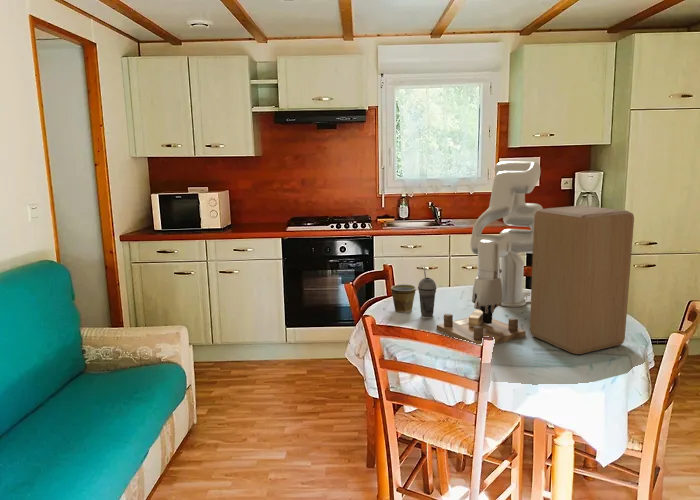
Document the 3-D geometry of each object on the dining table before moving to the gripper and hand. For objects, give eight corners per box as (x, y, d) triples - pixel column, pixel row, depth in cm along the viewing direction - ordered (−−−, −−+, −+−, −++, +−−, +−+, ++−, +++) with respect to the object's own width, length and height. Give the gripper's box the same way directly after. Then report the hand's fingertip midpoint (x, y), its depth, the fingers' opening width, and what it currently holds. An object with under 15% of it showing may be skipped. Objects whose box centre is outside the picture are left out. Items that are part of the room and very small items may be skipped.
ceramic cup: (420, 312, 220) (420, 288, 218) (399, 316, 216) (399, 292, 214) (403, 304, 232) (403, 281, 230) (383, 307, 227) (383, 284, 225)
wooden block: (576, 357, 171) (584, 216, 162) (526, 335, 191) (531, 208, 182) (627, 346, 180) (638, 210, 171) (574, 326, 200) (581, 204, 191)
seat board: (482, 319, 209) (482, 303, 208) (525, 336, 191) (526, 318, 189) (436, 330, 199) (436, 313, 198) (477, 348, 180) (477, 330, 179)
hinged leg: (475, 318, 204) (475, 309, 203) (484, 319, 203) (485, 310, 202) (468, 326, 195) (468, 317, 195) (477, 327, 194) (478, 318, 193)
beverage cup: (435, 319, 211) (436, 269, 207) (417, 318, 213) (417, 268, 209) (436, 313, 218) (437, 265, 214) (418, 312, 220) (418, 264, 216)
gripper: (499, 269, 199) (498, 316, 203) (464, 273, 194) (463, 322, 198) (512, 273, 192) (510, 322, 196) (476, 278, 187) (475, 329, 191)
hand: (487, 322), depth 197 cm, fingers closed
